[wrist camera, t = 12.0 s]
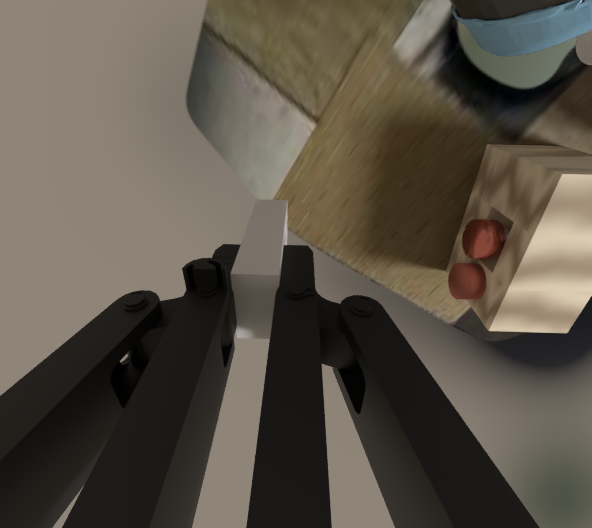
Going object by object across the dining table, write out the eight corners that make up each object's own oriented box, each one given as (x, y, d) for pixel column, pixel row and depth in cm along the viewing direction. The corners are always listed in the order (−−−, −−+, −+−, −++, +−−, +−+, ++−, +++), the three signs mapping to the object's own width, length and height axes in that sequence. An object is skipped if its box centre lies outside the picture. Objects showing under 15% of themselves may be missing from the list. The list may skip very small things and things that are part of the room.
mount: (468, 143, 41) (535, 173, 29) (563, 146, 41) (669, 176, 29) (430, 270, 52) (468, 330, 40) (506, 272, 52) (567, 333, 40)
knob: (458, 246, 43) (475, 266, 39) (469, 212, 40) (489, 229, 36) (548, 249, 43) (575, 268, 39) (566, 215, 40) (597, 232, 36)
